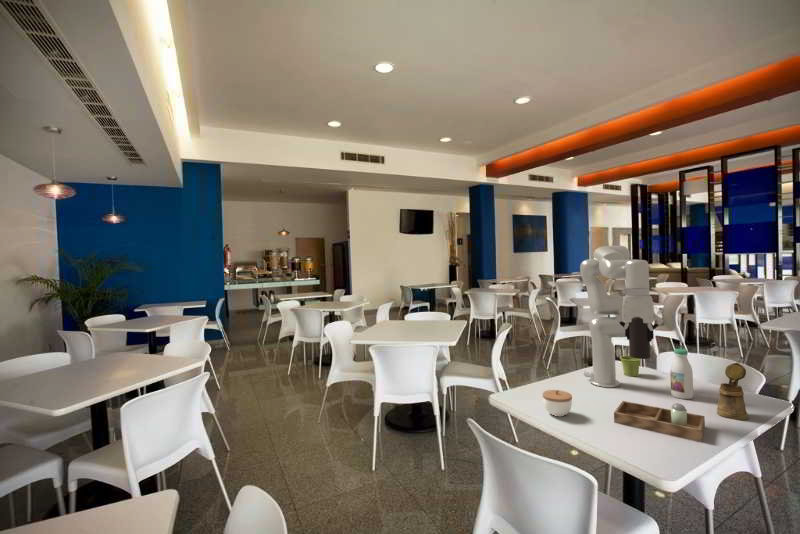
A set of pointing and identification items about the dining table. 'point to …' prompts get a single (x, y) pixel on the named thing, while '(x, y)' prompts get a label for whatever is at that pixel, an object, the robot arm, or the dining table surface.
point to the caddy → (659, 420)
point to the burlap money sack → (732, 394)
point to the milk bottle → (681, 375)
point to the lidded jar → (557, 402)
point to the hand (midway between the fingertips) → (639, 339)
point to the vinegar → (639, 339)
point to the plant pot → (630, 365)
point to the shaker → (678, 414)
